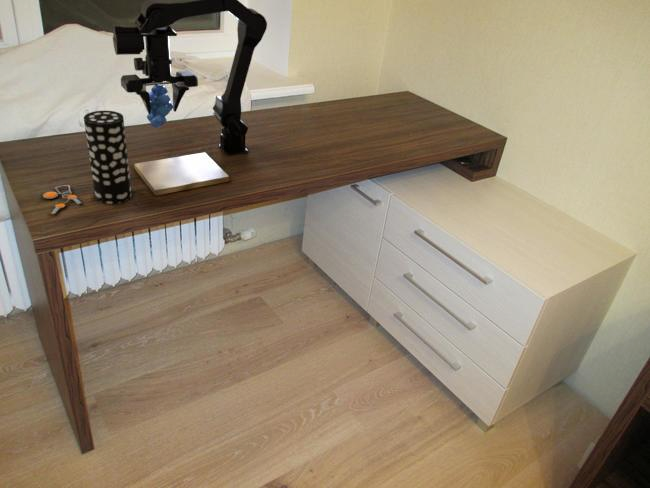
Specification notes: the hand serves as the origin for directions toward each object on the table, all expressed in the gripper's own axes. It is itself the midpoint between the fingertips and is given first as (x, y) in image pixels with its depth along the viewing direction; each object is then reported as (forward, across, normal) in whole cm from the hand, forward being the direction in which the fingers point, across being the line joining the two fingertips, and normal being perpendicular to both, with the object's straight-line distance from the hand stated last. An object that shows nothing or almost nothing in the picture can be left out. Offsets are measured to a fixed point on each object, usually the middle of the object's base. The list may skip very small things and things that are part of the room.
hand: (162, 112), depth 146 cm
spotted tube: (+13, +19, +17) cm, 28 cm away
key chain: (+13, +30, +15) cm, 36 cm away
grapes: (+4, +1, 0) cm, 4 cm away
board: (+13, 0, +13) cm, 18 cm away
